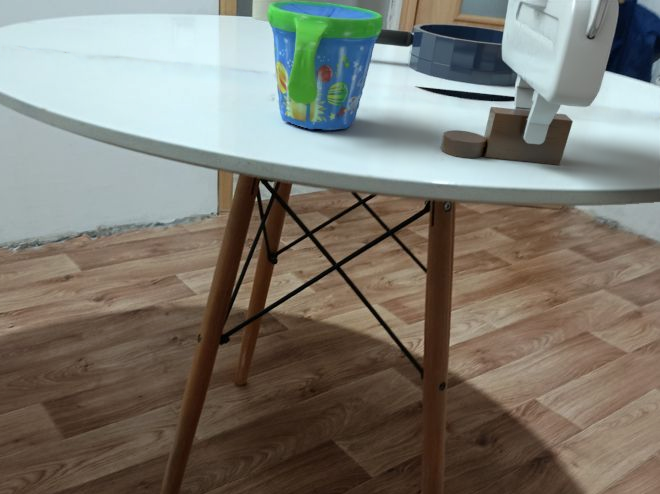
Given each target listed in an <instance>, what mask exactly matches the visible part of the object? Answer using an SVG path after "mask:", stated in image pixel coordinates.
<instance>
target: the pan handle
mask: <svg viewBox="0 0 660 494" xmlns="http://www.w3.org/2000/svg"><path fill="white" fill-rule="evenodd" d="M412 33H413V32H412V31H411V32H410V31H406V30H395V29H388V28H382V29H381V33H380V34H379V36H378V38H377V39H376V42H375V44H376V45H385V46H394V47H404V48H410V46H411V45H412V41H413V34H412ZM375 44H374V45H375Z"/></svg>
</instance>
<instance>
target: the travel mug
mask: <svg viewBox="0 0 660 494" xmlns="http://www.w3.org/2000/svg"><path fill="white" fill-rule="evenodd" d="M281 1H300V0H252V11H251V12H252V15H251V17H252V19H254V20H258V21H262V22H268V23H269V21H268V17H267V14H268V10H269V5H270V4H271V3H274V2H281Z"/></svg>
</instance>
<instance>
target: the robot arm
mask: <svg viewBox="0 0 660 494" xmlns="http://www.w3.org/2000/svg"><path fill="white" fill-rule="evenodd" d="M619 8H620V6H619V1H618V0H508V1H507V7H506V14H505V21H504V26H503V31H504V33H503V39H502V60H503V61H504V62H505V63H506V64H507V65H508V66H509V67H511V68H512V69H513V70H514V71H515V72H516V73H517V74H518V75H517V79H516V84H515V86H514V97H515V101H513V103H514V104H513V106H514V107H513V109H518V110H528V111H530V114H529V116H528V119H527V118H525V122H524V126H523V130H522V134H521V135H522V137H523V139H524V140H525V141H526V142H527V143H530V144H542V143H543V142H544V141H545V138H546V134H547V131H548V127H549V125H550V123H551V121H552V120H553V118H554V116H555V115H556V114H558V111H559V110H560V108H561V106H566V107H567V106H568V107H579V108H587V107H590V106H591V105H592V104H593V102H594V101H595V99H596V98H597V96H598V94H599V92H600V90H601V86H602V84H603V80H604V77H605V76H604V75H605V73H606V69H607V65H608V61H609V57H610V54H611V50H612V45H613V41H614V37H615V34H616V29H617V24H618V18H619V10H620V9H619Z"/></svg>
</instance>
